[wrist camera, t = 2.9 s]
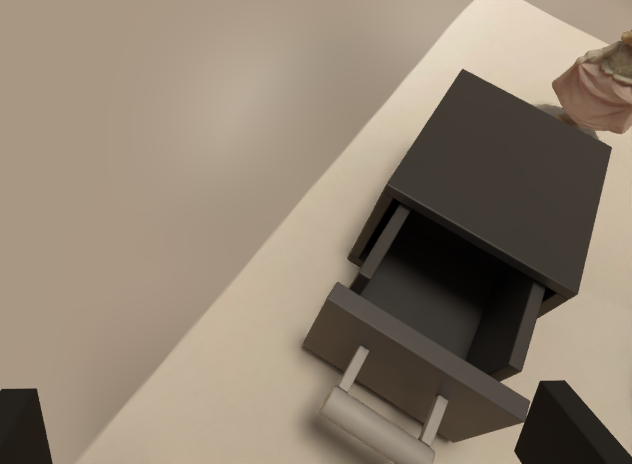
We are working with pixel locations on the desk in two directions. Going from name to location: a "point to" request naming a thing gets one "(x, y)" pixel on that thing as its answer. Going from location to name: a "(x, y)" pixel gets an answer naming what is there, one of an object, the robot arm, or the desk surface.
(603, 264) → the desk surface
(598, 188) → the small cabinet
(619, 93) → the figurine
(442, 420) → the drawer
